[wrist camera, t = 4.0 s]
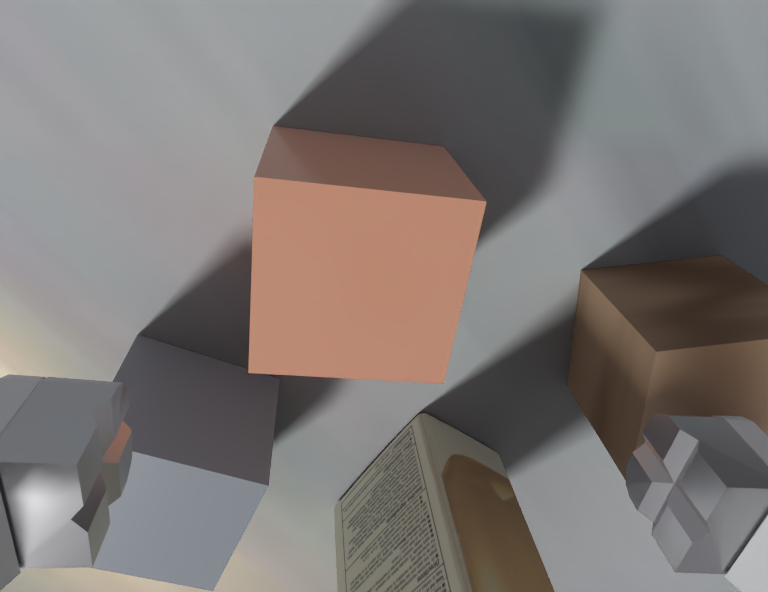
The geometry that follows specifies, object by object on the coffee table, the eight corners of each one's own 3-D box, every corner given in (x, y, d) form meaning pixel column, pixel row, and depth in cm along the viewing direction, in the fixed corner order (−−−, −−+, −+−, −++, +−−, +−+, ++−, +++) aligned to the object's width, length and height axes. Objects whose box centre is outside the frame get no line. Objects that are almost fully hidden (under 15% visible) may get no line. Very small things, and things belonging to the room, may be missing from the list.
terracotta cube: (443, 145, 17) (486, 201, 12) (415, 292, 19) (443, 383, 15) (272, 125, 16) (254, 176, 11) (266, 280, 18) (248, 373, 14)
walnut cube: (720, 254, 19) (835, 331, 15) (690, 369, 22) (783, 464, 17) (579, 268, 19) (655, 351, 15) (566, 383, 22) (628, 484, 17)
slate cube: (279, 377, 20) (268, 486, 16) (234, 472, 22) (212, 590, 18) (138, 333, 19) (82, 438, 14) (103, 438, 21) (44, 559, 16)
